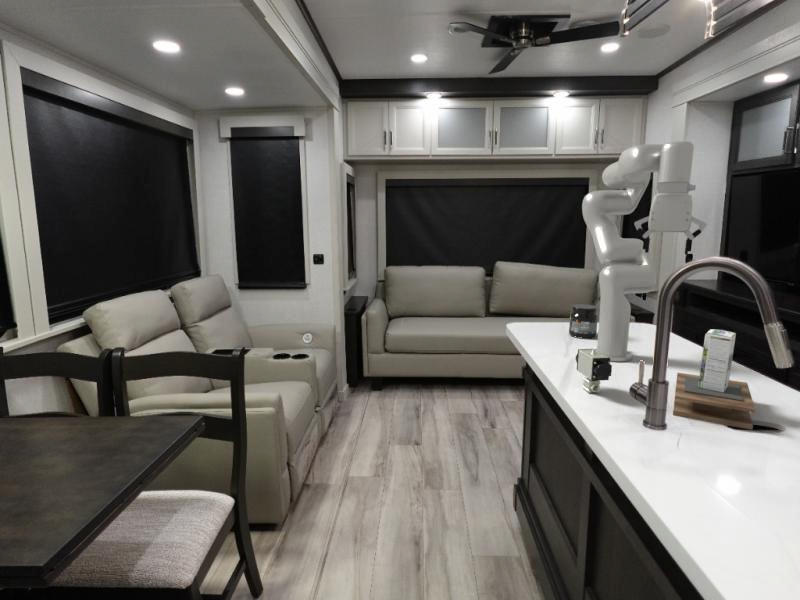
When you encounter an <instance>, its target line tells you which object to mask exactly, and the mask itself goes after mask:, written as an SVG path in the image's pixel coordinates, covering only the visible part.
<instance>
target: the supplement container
mask: <svg viewBox="0 0 800 600" xmlns="http://www.w3.org/2000/svg"><path fill="white" fill-rule="evenodd" d="M570 310H571V312H570V314H569V327H568V334H569V335H570V336H571V335H572V336H571V337H573V336H576V337H582V338H581V339H583V338H589V339H593V338H592V337H594V338H595V337H597V335H598V332H597V331H598V320H599V315H598V313H597V312H598V307H597V306H596V305H592V304H585V303H584V304H583V303H581V304H580V303H579V304H572V305H571V309H570ZM576 337H575V338H576Z"/></svg>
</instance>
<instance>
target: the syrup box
mask: <svg viewBox="0 0 800 600" xmlns="http://www.w3.org/2000/svg"><path fill="white" fill-rule="evenodd" d="M736 335H737V333H736V332H732V331H729V330H728V331H727V330H724V329H714V328H713V329H711V328H710V329H709V330H708V331H707V332H706V333H705V335H704V341H703V349H702V357H701V362H700V369H699V370H700V371H699V375H698V376H699V383H698V387H699V388H703V389H708V390H713V391H718V392H723V393H724V392H725V390H726V389H727V387H728V383H729V380H730V377H731V376H730V375H731V369H732V363H733V362H732V361H733V356H734V350H735V344H736V343H735V342H736Z"/></svg>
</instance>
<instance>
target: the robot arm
mask: <svg viewBox="0 0 800 600" xmlns="http://www.w3.org/2000/svg"><path fill="white" fill-rule="evenodd" d="M694 149H695V147H694V143H693V142H690V141H683V140H682V141H680V140H679V141H676V140H675V141H670V142H666V143H664V144H662V143H661V144H660V143H659V144H657V143H656V144H654V143H653V144H651V143H649V144H648V143H647V144H645V143H644V144H637V145H632V146H631V147H628V148H627V149H625V150H623V151H622V152H621V154H620V156H619V158H618V161H616V162H613V163H611V164H609V165H608V166H607V167H606V168H605V169H604V170H603V172H602V175H601V178H602V182H603V184H604V185H605V186H606V187H608V188H611V189H610V190H605V189H603V190H593V191H590V192H589V193H587V194H586V195H584V197H583V199H582V204H581V210H582V212H581V213H582V217H583V220H584V223H585V225H586V226H587V228H588V230H589V232H590V234H591V236H592V241H593V245H594V248H595V252H596V255H597V259H598V261H599V263H600V264H601V265H603V266H605V267H603V268H602V269H601V271H600V272H599V275H598V281H599V291H600V304H599V305H600V306H599V316H598V329H597V331H598V332H597V346H596V348H594V349H595V350H596V351H598V352H600V353H604V354H606V356H607V357H609V358H610V362H628V361H631V360H632V357H633V355H632V354H631V353H630V352H629V351H628V346H629V334H630V332H629V331H630V322H631V311H632V310H631V304H630V302H629V300H628V299H627V297H626V296H625V295H626V294H627V295H629V294H647V293H650V292H652V291H654V289H655V287H656V284H657V276H656V271H655V267H654V264H653V261H652V259H651V256H650V252H649V250H650V242H651V241H650V240H651V238H650V235H651V234H653V232H655V233H684V234H685V236H686V239H685V240H686V241H685V247H684V248H685V249H684V254H685V255H688V254H689V252H692V245H693V240H695V239H696V237H698V236H699V235H700V234H701V233H702V232H703V230H704V229H705V228H706V227H707V223H706V222H705V221H702V220H700V219H698V218H696V217H694V216H693V215H692V214H693V197H692V194H689V193H690V192H691V191H696V186H697V185H696V184H691V183H690V182H691V177H692V175H691V174H692V165H693V157H694ZM651 173H658V179H657V188H656V194H655V195H654V194H653V197H652V200H651V205H650V211H649V215H648V216H646V217H643V218H641V219H639V220H636V221H634V226H635V229H636V232H637V233H638V234H639V235H640V236H641V237H642V238H643V240H641V239H639V238H629V237H628V238H623V237H621V235H620V233H619V230H618V227H617V225H616V224H615V223H614V222H613V221H612V220H611V219H609V218H608V216H609V215H612V216H614V215H615V216H617V215H621V216H623V215H624V216H625V215H631V214H632V213H633V212H634V211H635V209H636V208H637V207H638V205H639V203H640V201H641V198H642V197H643V195H644V193H645V191H646V189H647V187H648V186H649V183H650V180H651ZM612 189H614V190H612ZM615 189H617V190H615ZM620 189H621V190H620ZM623 189H624V190H623ZM607 215H608V216H607ZM647 222H648V223H647ZM645 223H647V224H648V225H647V226H648V227H647V228H648V230H647V231H645V230H644V229H643V228H642V224H645ZM692 223H693V224H695V225H697V226H698V227H697V229H696V230H695V231H693V232H692V231H690V229H691V227H692Z"/></svg>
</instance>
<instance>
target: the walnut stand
mask: <svg viewBox="0 0 800 600" xmlns="http://www.w3.org/2000/svg"><path fill="white" fill-rule="evenodd" d="M699 376H700V375H697V374H689V373H684V372H679V371H678V372H677V374H676V381H675V382H676V385H675V393H674V401H673V412H672V415H673V416H677V417H682V418H688V419H693V420H698V421H703V422H710V423H714V424H719V425H725V426H730V427H736V428H740V429H744V430H745V429H746V430H751V431H752V430H754V429H753V427H754V423H753V419H752V416H751V413H756V408H755V405H754V400H753V397H752V393H751V391H750V388H749V384H748V382H746V381H738V380H731V379H729V383H728V387H727V389H726V390H725V392H724V393H723V392H718V391H713V390H708V389H703V388H699V387H698V383H699Z"/></svg>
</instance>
